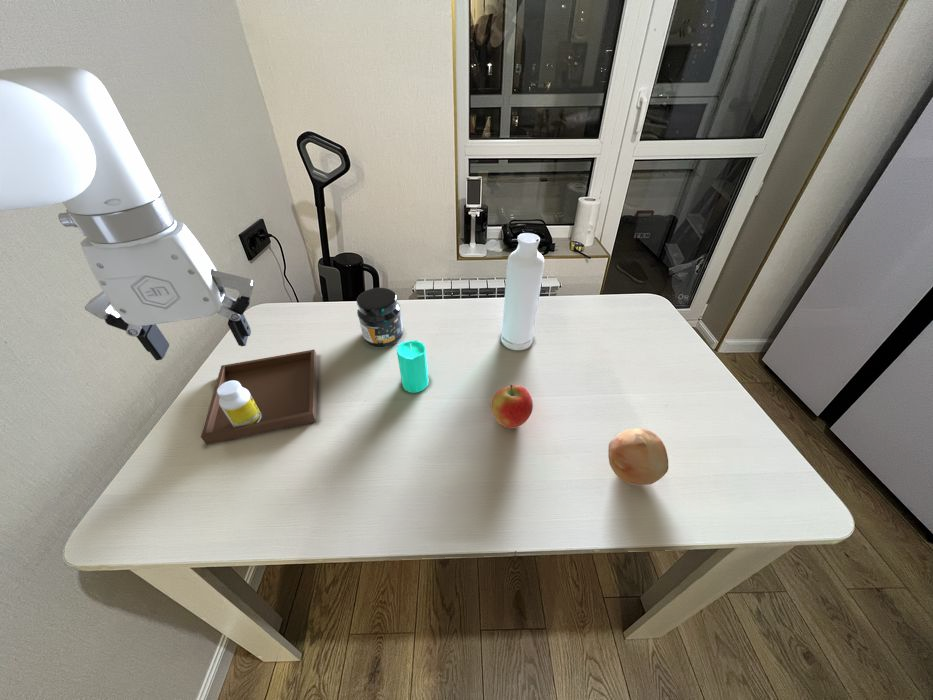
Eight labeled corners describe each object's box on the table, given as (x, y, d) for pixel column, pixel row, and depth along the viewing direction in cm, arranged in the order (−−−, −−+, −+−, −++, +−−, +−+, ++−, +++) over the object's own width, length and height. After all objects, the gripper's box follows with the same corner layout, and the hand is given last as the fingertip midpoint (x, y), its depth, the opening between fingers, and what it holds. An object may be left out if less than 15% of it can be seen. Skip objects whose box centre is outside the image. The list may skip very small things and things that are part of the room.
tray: (206, 445, 74) (200, 437, 72) (226, 373, 89) (221, 365, 87) (316, 421, 78) (312, 413, 76) (317, 357, 93) (314, 349, 91)
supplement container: (360, 349, 95) (350, 310, 87) (366, 324, 103) (358, 286, 95) (402, 348, 95) (396, 310, 87) (405, 323, 103) (400, 285, 95)
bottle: (500, 329, 101) (508, 229, 82) (531, 330, 101) (545, 230, 82) (501, 349, 95) (510, 246, 76) (533, 350, 95) (550, 247, 76)
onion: (653, 506, 65) (675, 475, 58) (595, 480, 68) (609, 448, 62) (661, 462, 71) (682, 430, 64) (608, 441, 74) (622, 408, 68)
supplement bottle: (267, 417, 78) (249, 384, 72) (244, 435, 75) (223, 403, 68) (251, 406, 80) (232, 373, 74) (228, 423, 77) (206, 391, 70)
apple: (506, 443, 74) (510, 410, 67) (483, 416, 79) (484, 383, 72) (537, 425, 77) (544, 392, 71) (513, 400, 82) (517, 367, 76)
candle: (397, 389, 85) (390, 349, 77) (409, 371, 89) (403, 331, 81) (422, 395, 83) (417, 355, 75) (432, 377, 88) (429, 337, 80)
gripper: (1, 245, 34) (118, 379, 45) (213, 224, 37) (272, 352, 49) (45, 214, 39) (140, 340, 51) (227, 198, 43) (277, 319, 54)
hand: (204, 346), depth 50 cm, fingers open, 9 cm apart
